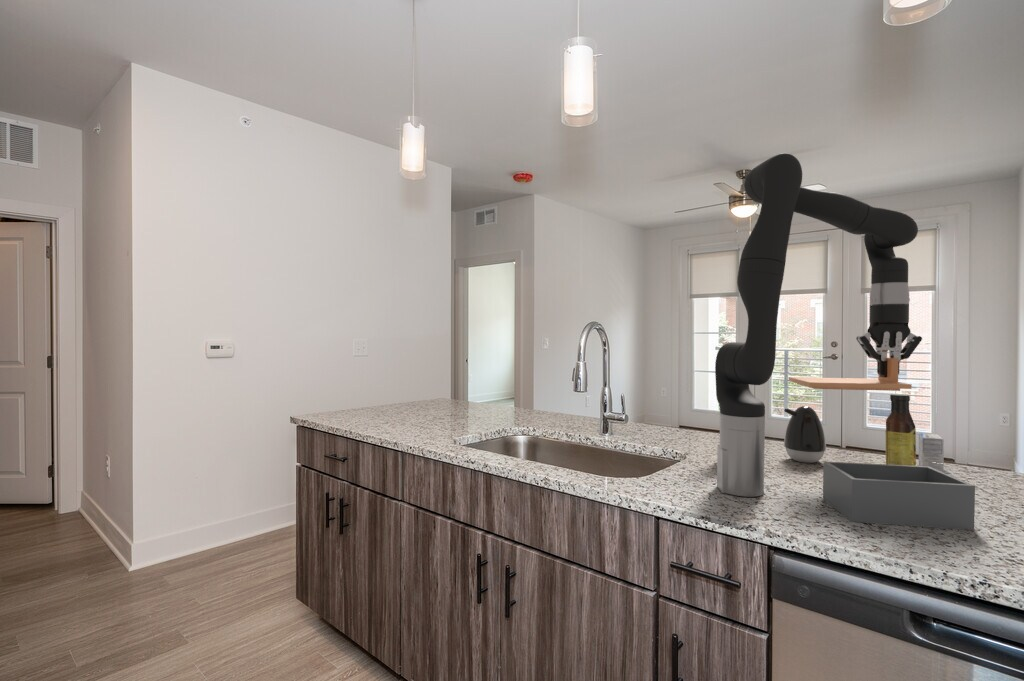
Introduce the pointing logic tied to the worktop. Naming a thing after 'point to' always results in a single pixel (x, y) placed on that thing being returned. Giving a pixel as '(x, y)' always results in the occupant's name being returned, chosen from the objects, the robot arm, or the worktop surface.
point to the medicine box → (931, 451)
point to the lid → (858, 381)
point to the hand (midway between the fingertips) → (887, 376)
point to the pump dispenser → (804, 435)
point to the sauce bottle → (900, 433)
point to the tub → (899, 495)
